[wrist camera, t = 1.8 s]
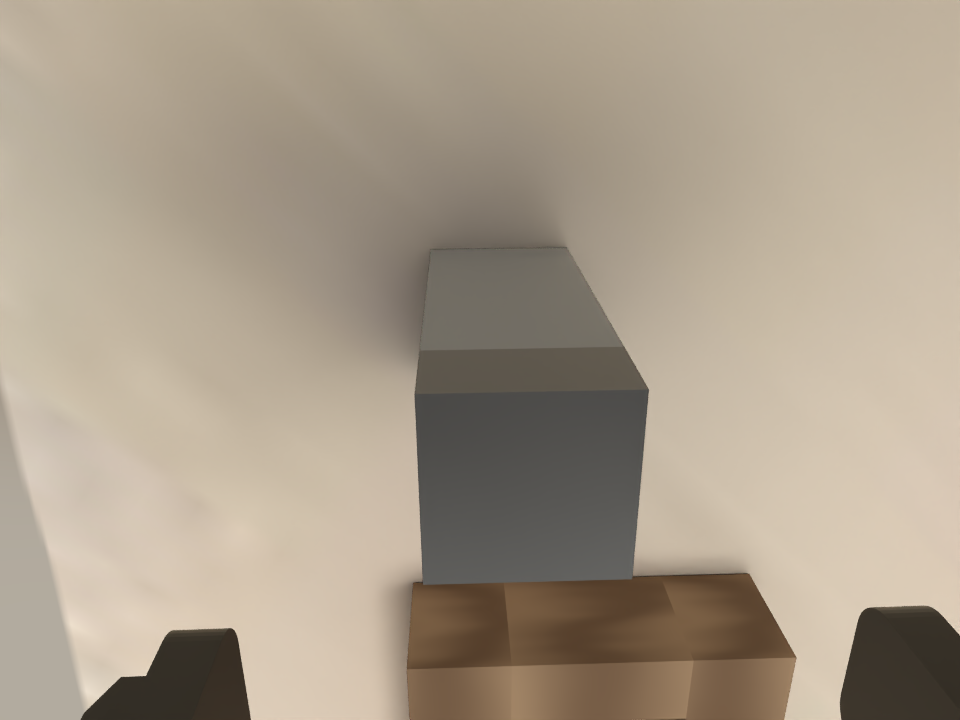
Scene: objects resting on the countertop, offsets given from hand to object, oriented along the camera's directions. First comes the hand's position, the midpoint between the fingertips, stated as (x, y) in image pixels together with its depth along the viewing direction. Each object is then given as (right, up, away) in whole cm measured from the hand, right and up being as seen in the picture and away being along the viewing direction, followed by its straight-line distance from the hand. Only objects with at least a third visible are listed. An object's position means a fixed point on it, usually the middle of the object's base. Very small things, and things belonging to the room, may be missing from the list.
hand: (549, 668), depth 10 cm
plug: (0, +5, +13) cm, 14 cm away
